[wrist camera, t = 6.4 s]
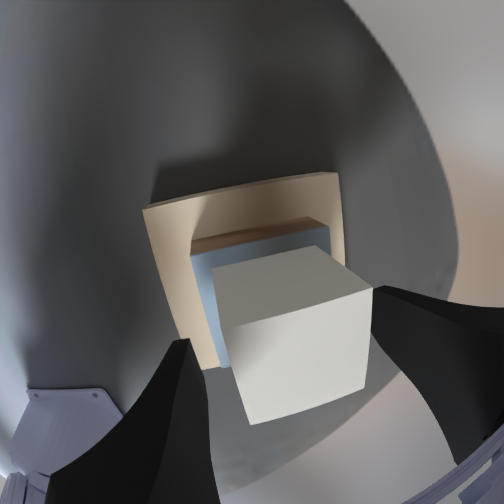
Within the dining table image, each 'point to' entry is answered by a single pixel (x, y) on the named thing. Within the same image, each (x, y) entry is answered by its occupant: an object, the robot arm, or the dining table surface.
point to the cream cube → (293, 330)
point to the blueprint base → (225, 217)
